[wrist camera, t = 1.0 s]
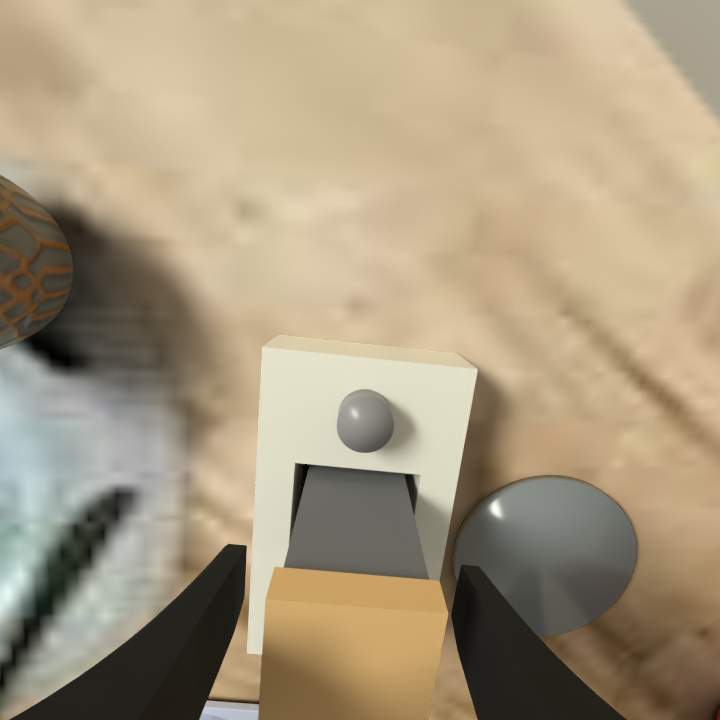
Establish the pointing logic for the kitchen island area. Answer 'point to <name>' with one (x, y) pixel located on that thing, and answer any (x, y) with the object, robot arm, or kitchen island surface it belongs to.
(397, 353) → the switch plate
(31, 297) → the vase
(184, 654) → the robot arm
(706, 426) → the kitchen island surface
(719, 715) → the vegetable
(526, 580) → the coaster
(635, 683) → the kitchen island surface
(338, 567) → the plug
